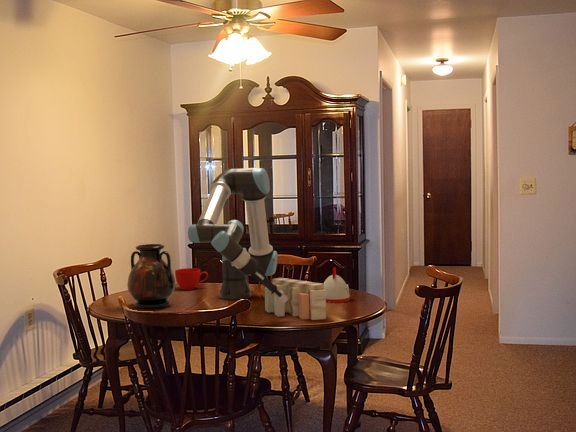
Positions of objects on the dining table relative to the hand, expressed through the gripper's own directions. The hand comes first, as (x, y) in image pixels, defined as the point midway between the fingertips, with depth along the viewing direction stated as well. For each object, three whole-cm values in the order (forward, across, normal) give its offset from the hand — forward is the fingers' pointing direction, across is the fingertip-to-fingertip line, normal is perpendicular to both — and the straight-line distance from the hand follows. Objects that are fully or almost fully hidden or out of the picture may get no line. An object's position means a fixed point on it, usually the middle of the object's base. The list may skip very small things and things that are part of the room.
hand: (285, 300), depth 277 cm
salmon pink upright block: (+11, 0, 0) cm, 11 cm away
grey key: (+5, -9, -6) cm, 12 cm away
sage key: (+4, -18, -7) cm, 20 cm away
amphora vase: (-29, -51, -41) cm, 71 cm away
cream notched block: (+11, -9, 0) cm, 14 cm away
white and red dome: (+29, -32, +17) cm, 46 cm away
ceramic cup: (-12, -87, -24) cm, 91 cm away
